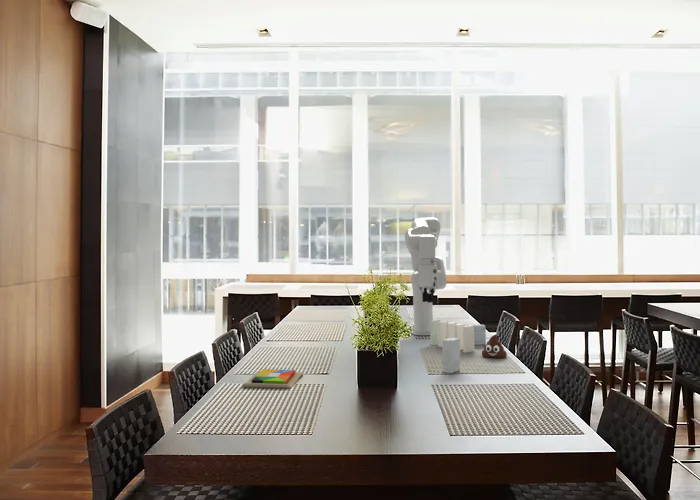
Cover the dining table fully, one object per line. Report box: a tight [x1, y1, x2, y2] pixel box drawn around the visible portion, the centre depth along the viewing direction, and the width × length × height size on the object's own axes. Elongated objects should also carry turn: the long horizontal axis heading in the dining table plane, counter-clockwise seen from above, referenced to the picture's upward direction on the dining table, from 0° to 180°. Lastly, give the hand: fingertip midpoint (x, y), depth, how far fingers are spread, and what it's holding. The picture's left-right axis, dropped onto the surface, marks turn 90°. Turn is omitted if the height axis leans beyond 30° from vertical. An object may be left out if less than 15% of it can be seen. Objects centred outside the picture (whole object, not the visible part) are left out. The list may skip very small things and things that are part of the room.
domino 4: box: [454, 323, 466, 351], centre depth 256 cm, size 2×5×11 cm, turn 124°
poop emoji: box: [481, 334, 508, 360], centre depth 241 cm, size 10×8×9 cm
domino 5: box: [462, 324, 475, 353], centre depth 251 cm, size 2×5×11 cm, turn 125°
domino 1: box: [429, 319, 442, 346], centre depth 269 cm, size 2×5×11 cm, turn 124°
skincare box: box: [441, 338, 461, 374], centre depth 218 cm, size 6×4×12 cm
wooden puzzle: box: [241, 368, 304, 389], centre depth 210 cm, size 18×19×4 cm
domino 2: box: [437, 320, 449, 348], centre depth 264 cm, size 2×5×11 cm, turn 124°
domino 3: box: [446, 321, 458, 339], centre depth 260 cm, size 2×5×11 cm, turn 125°
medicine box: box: [466, 324, 487, 346], centre depth 267 cm, size 8×4×9 cm, turn 84°
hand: (428, 301), depth 272 cm, fingers closed
